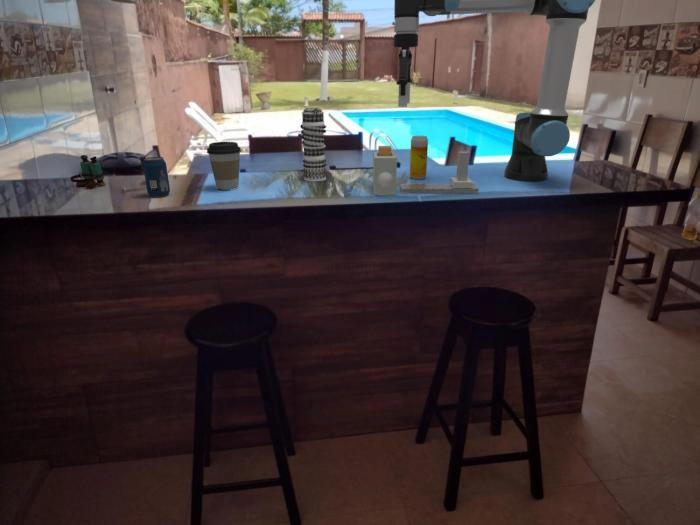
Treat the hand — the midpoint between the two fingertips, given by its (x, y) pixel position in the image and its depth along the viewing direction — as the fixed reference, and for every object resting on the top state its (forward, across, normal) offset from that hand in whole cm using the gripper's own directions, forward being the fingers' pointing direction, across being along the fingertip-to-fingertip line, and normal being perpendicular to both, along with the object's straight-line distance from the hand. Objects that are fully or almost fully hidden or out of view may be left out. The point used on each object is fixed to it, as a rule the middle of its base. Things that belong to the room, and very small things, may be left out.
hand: (404, 105), depth 162 cm
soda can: (+27, +24, -77) cm, 85 cm away
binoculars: (+26, +17, -108) cm, 112 cm away
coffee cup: (+27, +11, -59) cm, 66 cm away
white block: (+27, +8, -5) cm, 28 cm away
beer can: (+27, -14, +5) cm, 31 cm away
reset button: (+17, +8, -5) cm, 20 cm away
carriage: (+25, +4, +20) cm, 32 cm away
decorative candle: (+27, -7, -32) cm, 43 cm away
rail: (+27, +5, +12) cm, 30 cm away
